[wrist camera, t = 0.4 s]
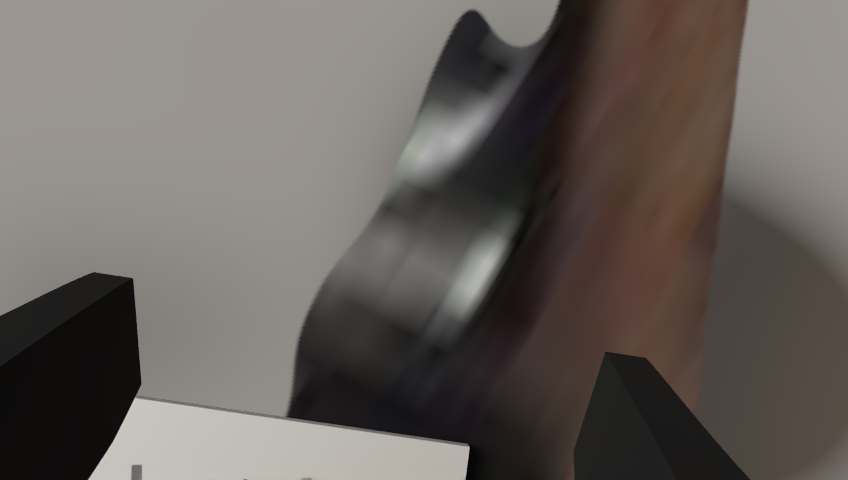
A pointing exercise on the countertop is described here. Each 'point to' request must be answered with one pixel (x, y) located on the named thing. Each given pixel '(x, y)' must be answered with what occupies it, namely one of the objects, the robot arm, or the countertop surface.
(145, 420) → the board
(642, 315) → the countertop surface
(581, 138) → the countertop surface
